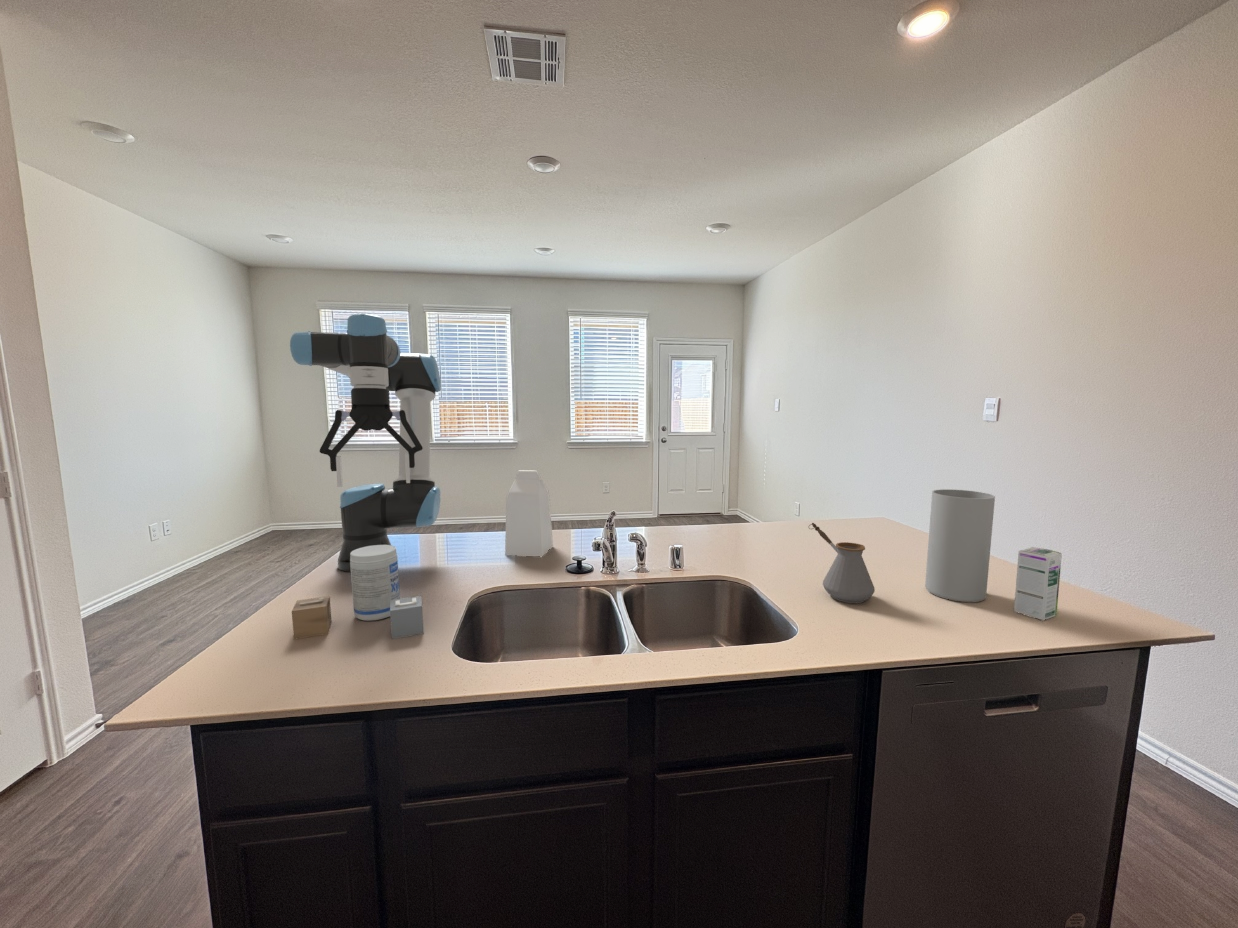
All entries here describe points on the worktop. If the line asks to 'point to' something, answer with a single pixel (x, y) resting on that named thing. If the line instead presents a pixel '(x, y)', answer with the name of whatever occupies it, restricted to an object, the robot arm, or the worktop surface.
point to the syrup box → (1037, 582)
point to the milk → (528, 516)
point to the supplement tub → (374, 581)
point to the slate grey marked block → (406, 617)
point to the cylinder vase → (959, 544)
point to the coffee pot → (847, 572)
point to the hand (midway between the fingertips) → (375, 484)
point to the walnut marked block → (311, 617)
